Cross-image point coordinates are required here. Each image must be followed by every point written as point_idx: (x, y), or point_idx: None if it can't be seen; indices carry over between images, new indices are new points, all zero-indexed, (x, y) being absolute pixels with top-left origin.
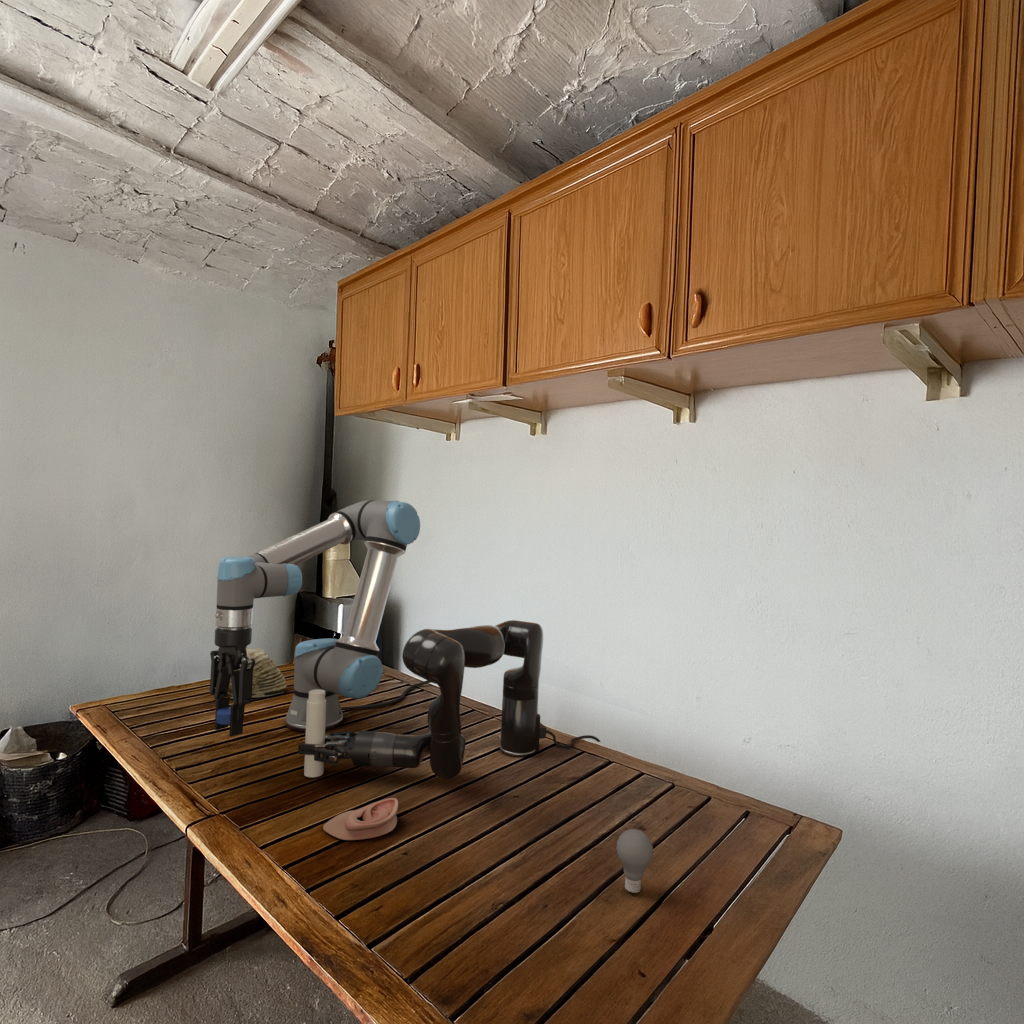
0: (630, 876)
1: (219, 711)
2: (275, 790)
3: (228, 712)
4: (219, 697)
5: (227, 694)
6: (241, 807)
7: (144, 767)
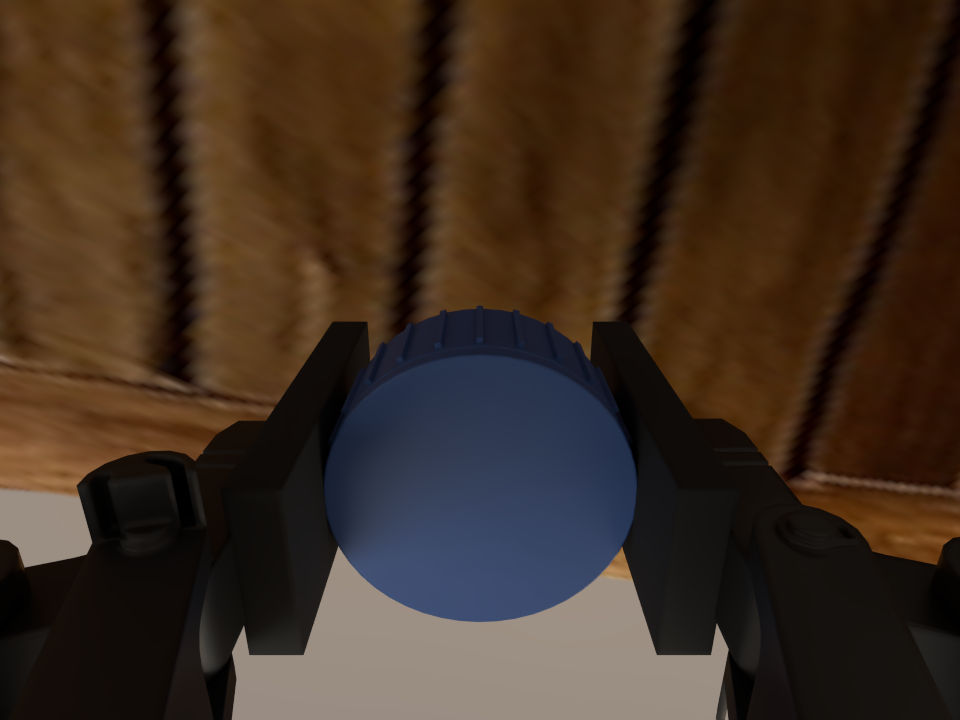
0: None
1: (422, 587)
2: (851, 181)
3: (544, 545)
4: (231, 645)
5: (156, 503)
6: (831, 400)
7: (45, 461)
